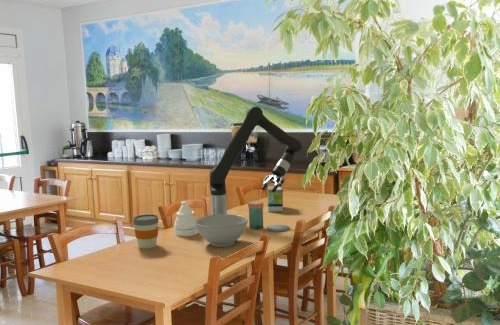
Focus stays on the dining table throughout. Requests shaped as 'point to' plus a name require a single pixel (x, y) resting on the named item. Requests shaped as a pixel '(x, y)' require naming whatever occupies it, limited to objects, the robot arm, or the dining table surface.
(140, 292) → the dining table surface
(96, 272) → the dining table surface
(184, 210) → the honey pot
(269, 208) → the tea box
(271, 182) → the robot arm
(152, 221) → the reusable coffee cup
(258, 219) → the tea tin
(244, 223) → the decorative bowl
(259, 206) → the tin lid
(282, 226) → the slate mat
